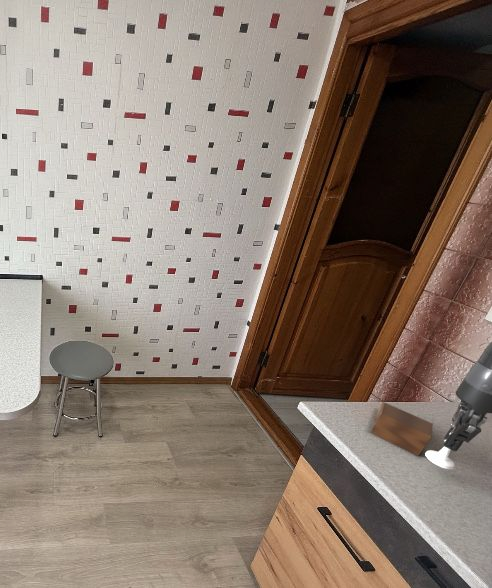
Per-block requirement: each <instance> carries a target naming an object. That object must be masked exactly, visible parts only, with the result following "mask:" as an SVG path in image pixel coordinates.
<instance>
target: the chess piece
mask: <svg viewBox="0 0 492 588" xmlns="http://www.w3.org/2000/svg"><path fill="white" fill-rule="evenodd" d="M450 434H451V433H450ZM443 441H444V442H445V441H446V440H444V439H443ZM451 451H452V450H450V449H448V448H446V447H445V446H444V445H443V447H442V448H441V449H440V450H439V451H436V450H433V449H430V450H429V449H428V450H427V451H426V452H425V453H424V454H425V457H426V458H427V460H429V462H431V463H432V464H434V465H436V466H438V467H440V468H442V469H445V470H453V469H454V468H455V462H454V460H453V459H451V458H450V457H449V456H450V453H451Z"/></svg>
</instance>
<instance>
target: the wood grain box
mask: <svg viewBox="0 0 492 588" xmlns="http://www.w3.org/2000/svg"><path fill="white" fill-rule="evenodd" d="M433 427H434V423H432V422H430V421H428V420H426V419H423V418H421V417H419V416H416V415H414V414H412V413H410V412H407V411H405V410H403V409H401V408H399V407H396V406H394V405H392V404H389V403H387V402H384V401H382V402H381V404H380V406H379V408H378V409H377V411H376V414H375V417H374V420H373V423H372V426H371V429H370V431H369V432H370V434H372V435H375V436H376V437H377V438H380V439H382V440H384V441H387V442H389V443H391V444H393V445H395V446H396V447H398V448H400V449H403V450H404V451H407V452H408V453H410V454H412V455H415V456H417V457H419V455H420V454H421V452H422V451H423V450H424V448H425V447H426V445H427V444H428V443H429V442H430V440H431V438H432V437H433Z"/></svg>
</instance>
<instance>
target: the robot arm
mask: <svg viewBox="0 0 492 588" xmlns="http://www.w3.org/2000/svg"><path fill="white" fill-rule="evenodd" d="M455 395H456V397H457V398H458V399H459V400H460V403H459V404H458V408H457V410H456V411H455V412H454V414H453V417H452V418H451V421H452V422H451V423H450V428H449V429H448V431H447V432H446V433H445V436H444V437H443V441H444V440H446V441H444V442H443V447H444V446H445V447H446V448H448V449H450V450H451V451H453V452H458V451H459V449H460V448H461V447H462V445H463V443H464V442H465V443H470V442H471V441H472V440H473V439H475V437H477V436H478V435H479V434H480V433H481V432H482V428H481V426H482V425H484V424H486V422H487V420H488V417H487V414H492V341H491V342H489V343H488V345H487V346H486V347H485V349H484V350H483V352H482V353H481V354H480V356H479V358H478V360H476V362H475V363H474V364H473V365H472V366H471V368H470V369H469V370H468V372H467V374H466V375H465V377H464V378H463V380H462V381H461V383H460V384H459V386H458V387H457V389H456V391H455ZM450 433H451V434H450Z"/></svg>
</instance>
